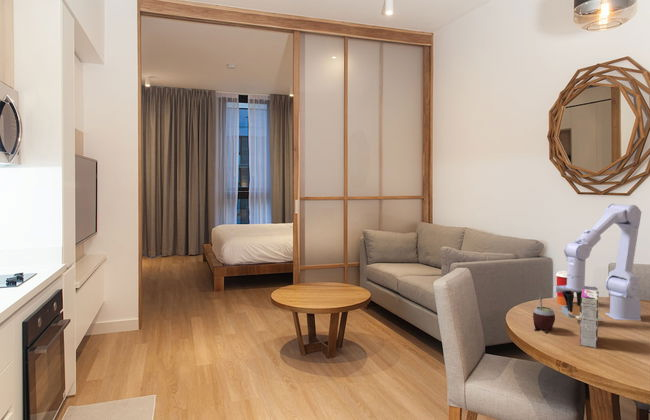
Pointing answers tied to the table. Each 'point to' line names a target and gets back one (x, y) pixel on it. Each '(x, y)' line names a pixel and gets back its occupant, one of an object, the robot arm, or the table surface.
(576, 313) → the lid
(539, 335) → the table surface
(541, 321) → the mate gourd
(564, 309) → the tub
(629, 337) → the table surface
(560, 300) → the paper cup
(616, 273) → the robot arm
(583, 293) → the candy bar box
